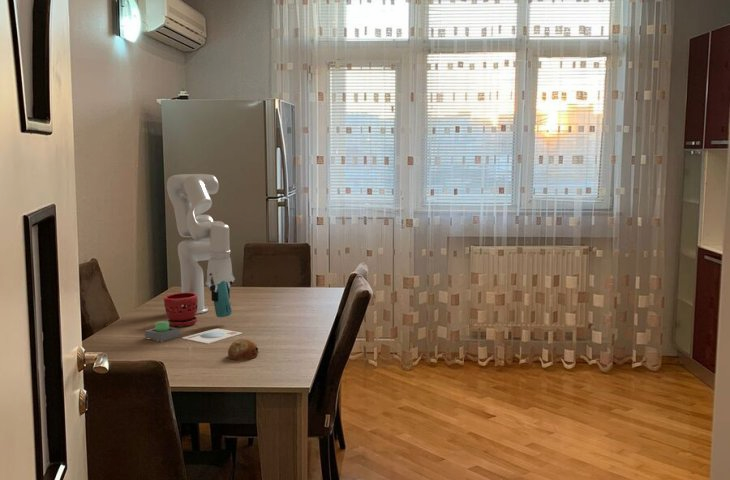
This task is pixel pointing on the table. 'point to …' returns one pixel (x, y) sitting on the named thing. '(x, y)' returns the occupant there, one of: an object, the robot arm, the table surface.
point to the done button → (162, 326)
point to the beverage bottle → (222, 300)
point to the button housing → (162, 334)
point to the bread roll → (242, 350)
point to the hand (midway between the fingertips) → (220, 299)
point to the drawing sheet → (212, 335)
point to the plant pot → (181, 308)
